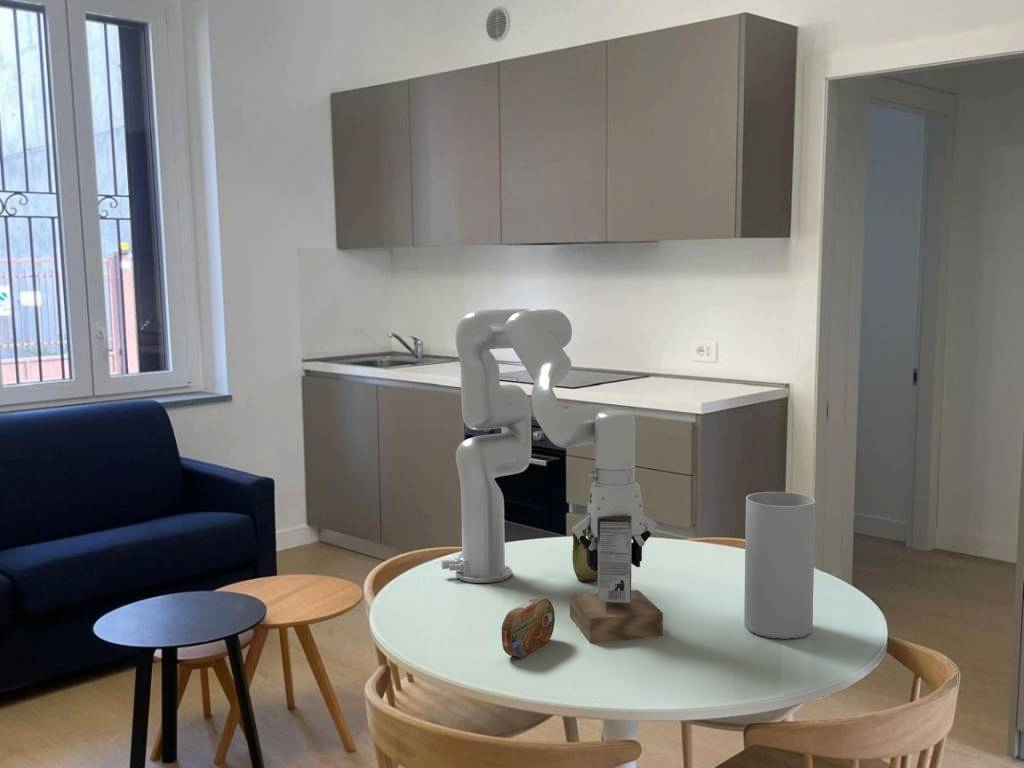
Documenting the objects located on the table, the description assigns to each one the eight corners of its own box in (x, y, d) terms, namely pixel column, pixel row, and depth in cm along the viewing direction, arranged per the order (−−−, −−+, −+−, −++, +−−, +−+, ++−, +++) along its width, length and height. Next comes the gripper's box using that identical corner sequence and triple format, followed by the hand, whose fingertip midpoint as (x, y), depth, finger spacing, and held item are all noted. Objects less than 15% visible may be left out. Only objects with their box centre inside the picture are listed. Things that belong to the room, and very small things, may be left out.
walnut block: (590, 645, 186) (590, 618, 185) (570, 620, 200) (569, 595, 199) (662, 638, 189) (662, 612, 188) (637, 614, 202) (638, 590, 202)
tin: (513, 664, 176) (513, 617, 175) (498, 661, 178) (497, 614, 177) (556, 637, 189) (556, 593, 188) (541, 634, 191) (541, 591, 190)
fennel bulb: (569, 579, 225) (569, 526, 223) (585, 574, 228) (585, 522, 227) (589, 585, 220) (588, 531, 219) (604, 580, 224) (604, 527, 222)
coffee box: (597, 587, 198) (597, 506, 197) (630, 588, 198) (631, 506, 196) (596, 602, 189) (596, 517, 188) (631, 603, 189) (632, 518, 187)
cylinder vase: (730, 623, 195) (732, 495, 193) (783, 614, 200) (786, 489, 198) (771, 644, 184) (774, 509, 181) (826, 634, 189) (829, 502, 186)
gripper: (577, 483, 185) (577, 576, 187) (665, 477, 190) (664, 568, 192) (564, 475, 192) (564, 565, 194) (649, 469, 197) (649, 558, 199)
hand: (614, 566), depth 193 cm, fingers closed on coffee box, 8 cm apart
